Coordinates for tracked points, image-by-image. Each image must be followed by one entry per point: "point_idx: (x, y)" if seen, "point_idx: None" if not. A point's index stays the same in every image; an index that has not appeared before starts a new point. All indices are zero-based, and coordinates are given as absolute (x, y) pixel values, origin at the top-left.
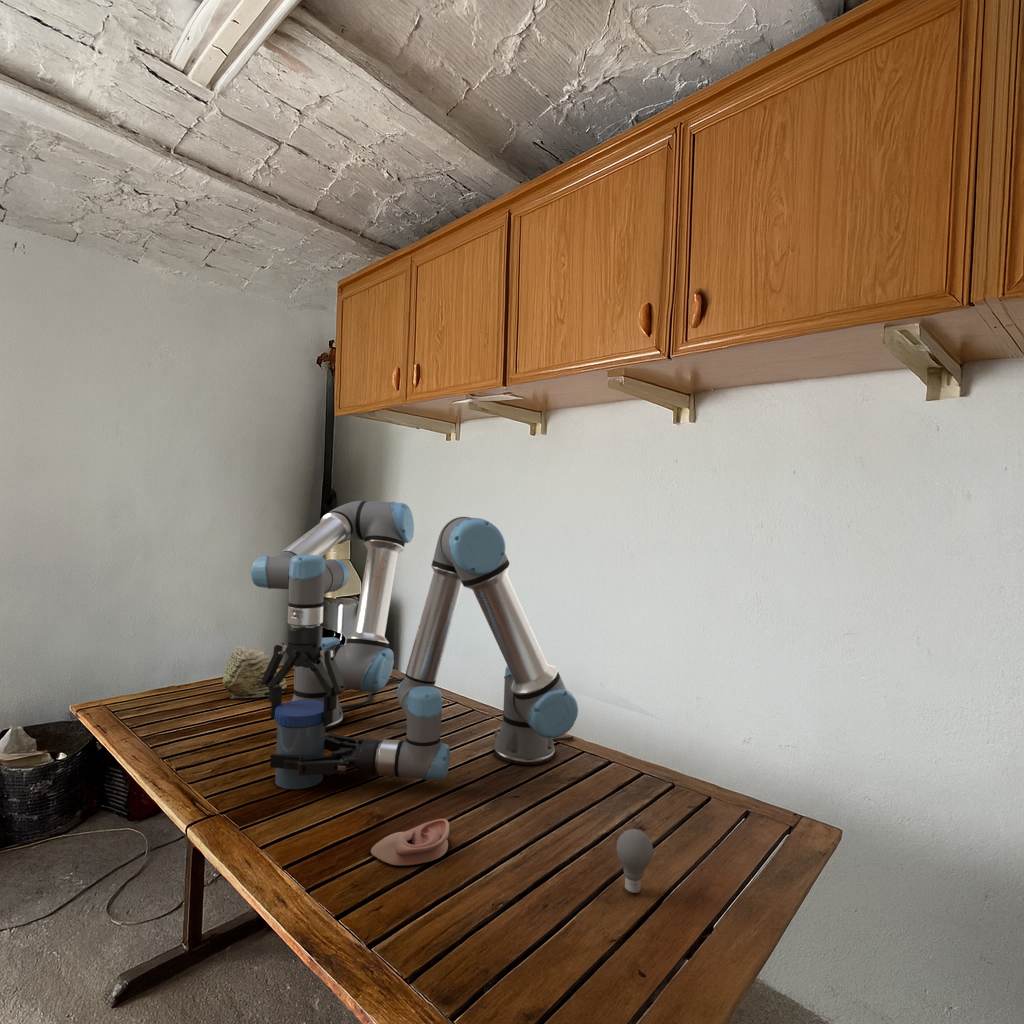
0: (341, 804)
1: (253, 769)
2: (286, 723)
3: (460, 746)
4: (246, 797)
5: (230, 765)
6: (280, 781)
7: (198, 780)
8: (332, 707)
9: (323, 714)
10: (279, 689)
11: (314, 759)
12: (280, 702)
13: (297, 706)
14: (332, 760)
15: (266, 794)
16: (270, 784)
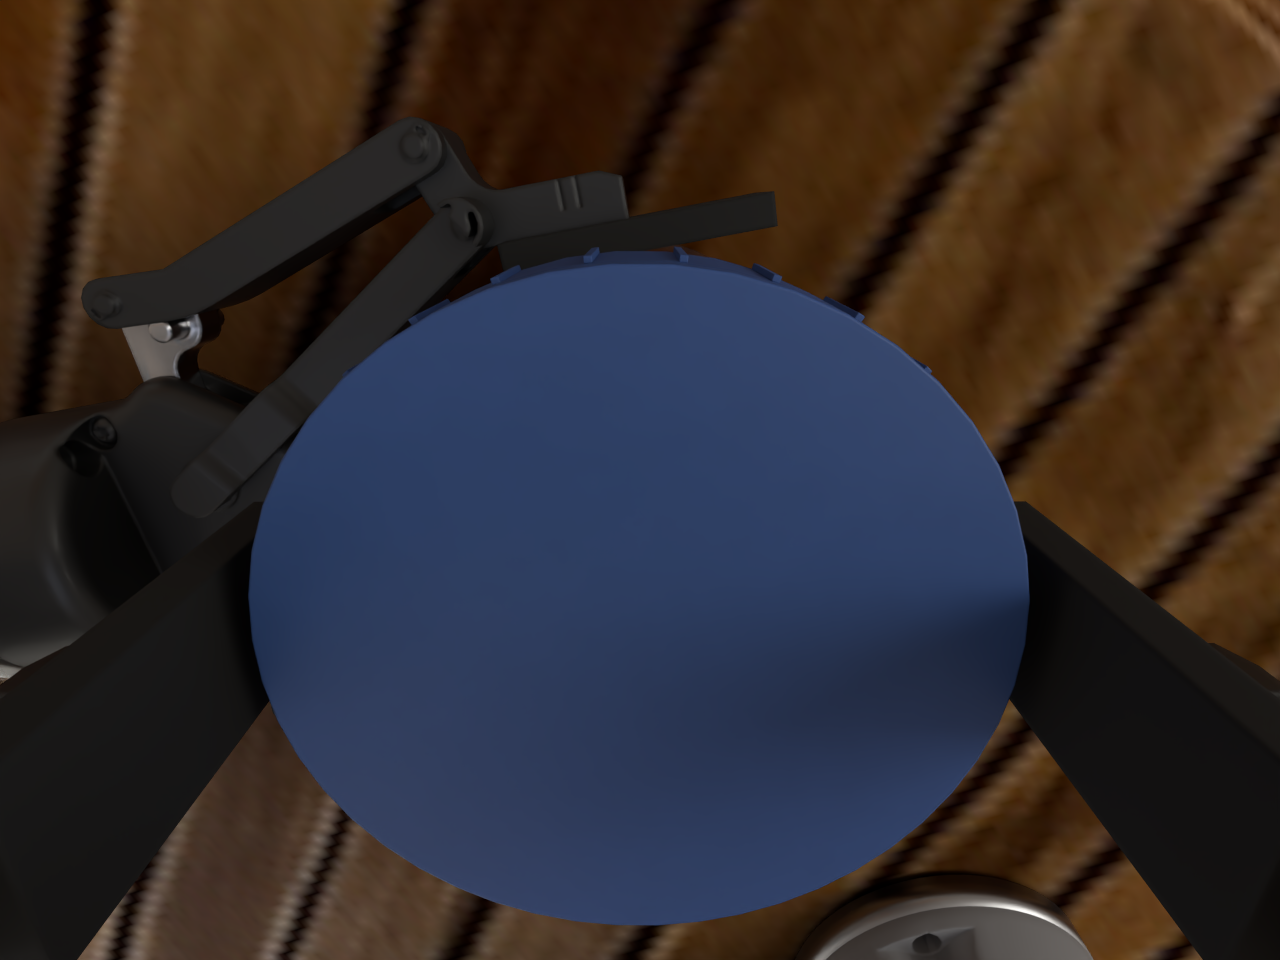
0: (189, 164)
1: (976, 411)
2: (648, 254)
3: (111, 948)
4: (814, 30)
5: (1144, 413)
6: (687, 249)
7: (1259, 150)
8: (19, 677)
9: (213, 570)
10: (1218, 885)
11: (378, 274)
12: (1046, 724)
13: (731, 683)
14: (214, 295)
15: (712, 122)
16: (766, 262)
